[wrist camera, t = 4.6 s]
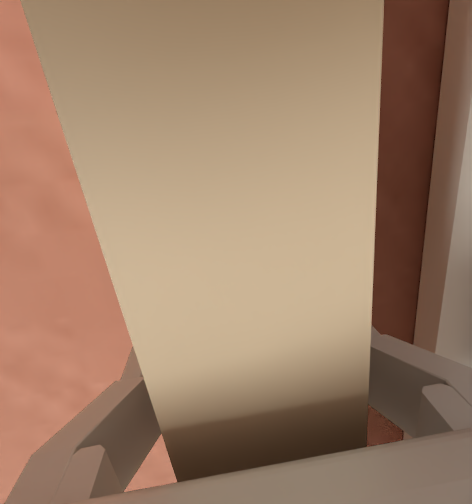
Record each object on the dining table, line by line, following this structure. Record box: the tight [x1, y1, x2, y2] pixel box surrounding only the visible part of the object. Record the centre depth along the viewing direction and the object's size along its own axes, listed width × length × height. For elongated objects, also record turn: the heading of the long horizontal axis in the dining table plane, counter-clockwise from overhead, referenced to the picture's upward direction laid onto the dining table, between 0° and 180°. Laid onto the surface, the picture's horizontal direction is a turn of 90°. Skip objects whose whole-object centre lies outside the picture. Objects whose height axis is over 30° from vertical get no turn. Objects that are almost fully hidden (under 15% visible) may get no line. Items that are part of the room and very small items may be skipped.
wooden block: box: [20, 0, 384, 482], centre depth 8 cm, size 22×4×6 cm, turn 8°
